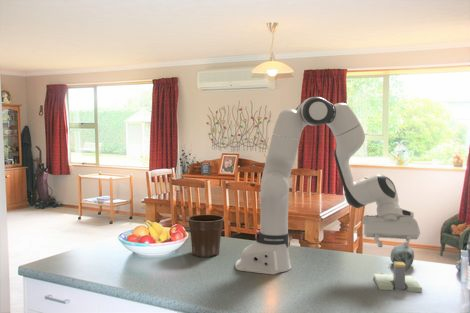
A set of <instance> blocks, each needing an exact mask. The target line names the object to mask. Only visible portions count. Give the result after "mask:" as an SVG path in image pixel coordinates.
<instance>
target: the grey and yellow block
mask: <svg viewBox="0 0 470 313" xmlns="http://www.w3.org/2000/svg"><path fill="white" fill-rule="evenodd" d="M405 266H406V265H405V263H404V262H395V261H394V263H393V274H392V275H393V290H398V291H405V289H406V287H405V275H406V269H405Z"/></svg>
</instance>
